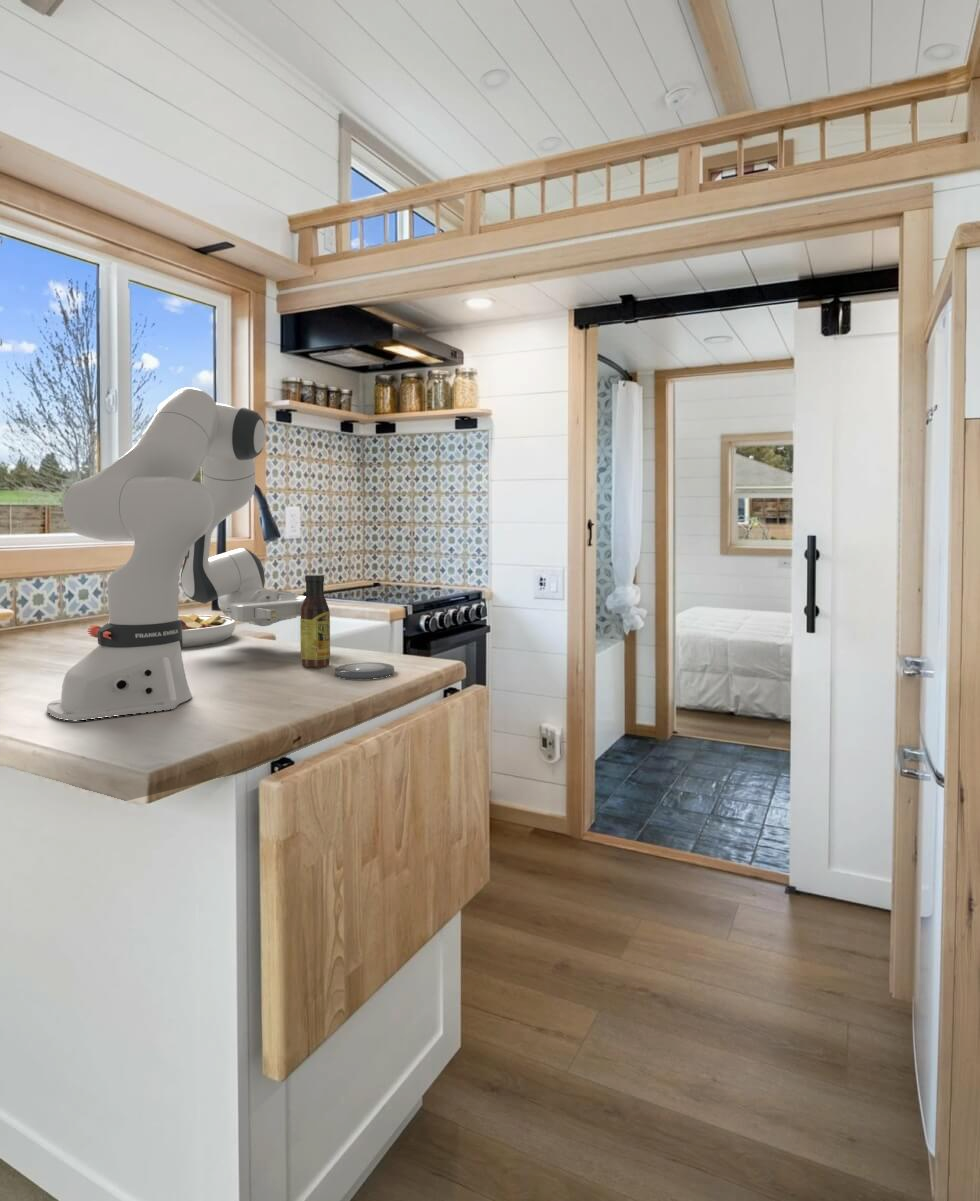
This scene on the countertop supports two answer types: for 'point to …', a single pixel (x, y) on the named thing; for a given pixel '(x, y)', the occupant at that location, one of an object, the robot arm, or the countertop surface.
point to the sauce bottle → (315, 624)
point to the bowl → (205, 629)
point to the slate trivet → (364, 670)
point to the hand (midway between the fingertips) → (291, 612)
